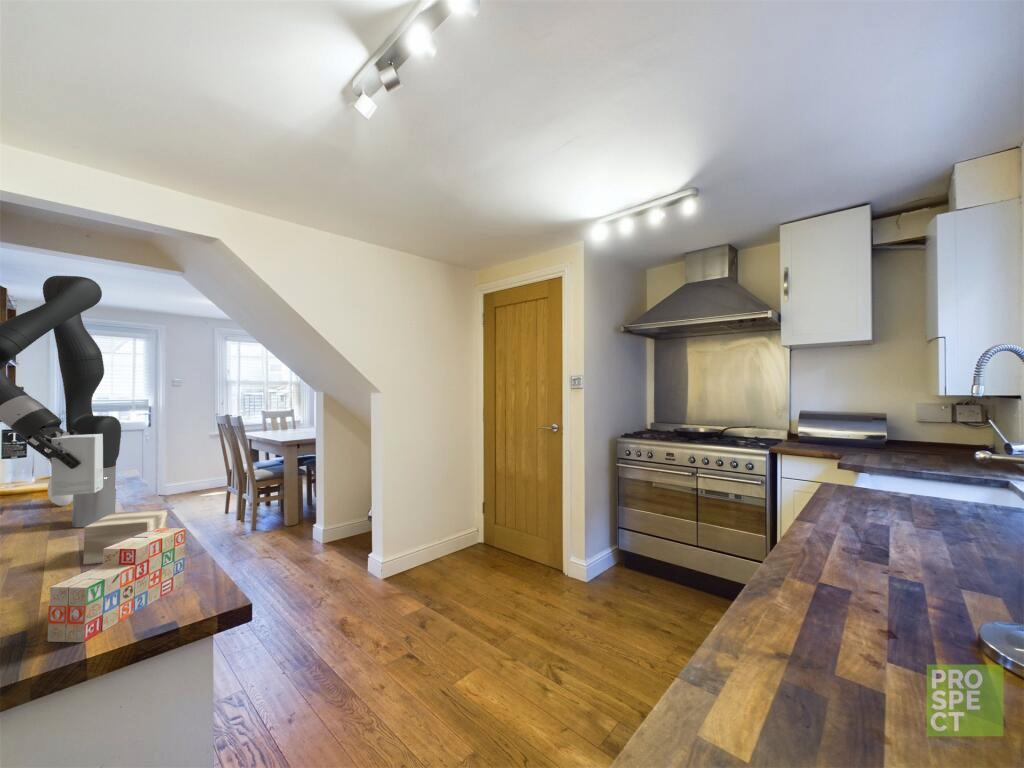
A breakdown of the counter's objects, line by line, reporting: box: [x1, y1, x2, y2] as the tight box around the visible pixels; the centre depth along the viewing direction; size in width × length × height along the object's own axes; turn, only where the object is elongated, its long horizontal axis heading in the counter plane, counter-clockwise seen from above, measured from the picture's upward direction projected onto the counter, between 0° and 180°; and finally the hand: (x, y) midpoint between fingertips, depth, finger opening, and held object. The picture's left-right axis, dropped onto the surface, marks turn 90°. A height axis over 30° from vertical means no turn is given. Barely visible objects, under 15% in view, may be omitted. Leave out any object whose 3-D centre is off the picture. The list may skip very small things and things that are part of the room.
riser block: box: [83, 508, 169, 565], centre depth 107 cm, size 12×12×9 cm
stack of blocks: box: [47, 527, 187, 643], centre depth 80 cm, size 21×6×12 cm, turn 0°
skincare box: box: [50, 434, 103, 497], centre depth 106 cm, size 8×6×15 cm
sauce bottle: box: [47, 475, 73, 507], centre depth 146 cm, size 8×8×18 cm
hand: (86, 463), depth 107 cm, fingers closed on skincare box, 6 cm apart
